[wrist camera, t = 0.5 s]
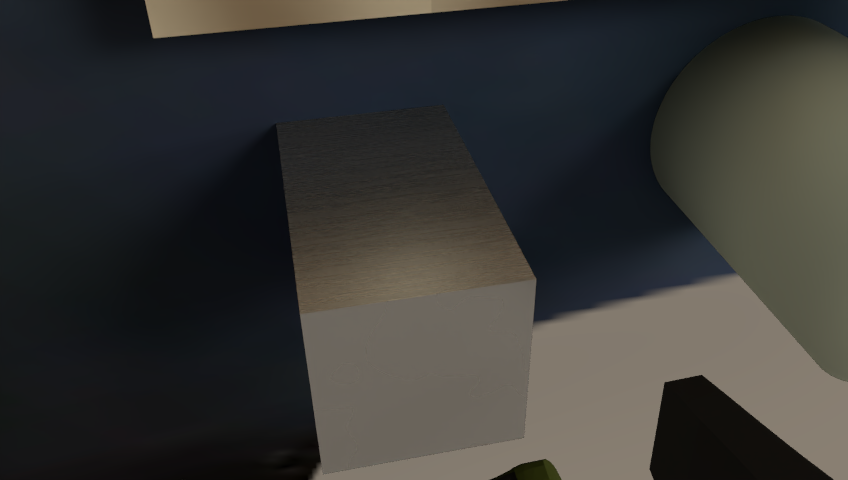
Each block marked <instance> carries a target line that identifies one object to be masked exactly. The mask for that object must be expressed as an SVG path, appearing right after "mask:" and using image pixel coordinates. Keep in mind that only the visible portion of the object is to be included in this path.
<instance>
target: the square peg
mask: <svg viewBox="0 0 848 480" xmlns="http://www.w3.org/2000/svg"><path fill="white" fill-rule="evenodd" d="M276 127H277V135H278V143H279V151H280V159H281V167H282V175H283V183H284V191H285V199H286V207H287V215H288V223H289V231H290V239H291V247H292V255H293V263H294V271H295V279H296V287H297V295H298V303H299V311H300V318H301V325H302V332H303V339H304V346H305V353H306V360H307V367H308V374H309V380H310V387H311V394H312V401H313V408H314V415H315V422H316V429H317V436H318V443H319V450H320V457H321V464H322V471H323V474H327V473H333V472H338V471H343V470H349V469H355V468H360V467H366V466H371V465H377V464H382V463H388V462H394V461H399V460H404V459H410V458H416V457H421V456H427V455H432V454H438V453H443V452H449V451H454V450H459V449H465V448H471V447H476V446H482V445H487V444H493V443H499V442H504V441H510V440H515V439H521V438H524V430H525V418H526V404H527V392H528V379H529V367H530V354H531V340H532V329H533V316H534V304H535V291H536V278H535V276H534V274H533V272H532V270H531V268H530V266H529V264H528V262H527V261H526V259H525V257H524V255H523V253H522V251H521V249H520V247H519V246H518V244H517V242H516V240H515V238H514V236H513V234H512V232H511V231H510V229H509V227H508V225H507V223H506V221H505V219H504V217H503V216H502V214H501V212H500V210H499V208H498V206H497V204H496V202H495V201H494V199H493V197H492V195H491V193H490V191H489V189H488V187H487V185H486V184H485V182H484V180H483V178H482V176H481V174H480V172H479V170H478V169H477V167H476V165H475V163H474V161H473V159H472V157H471V155H470V154H469V152H468V150H467V148H466V146H465V144H464V142H463V140H462V139H461V137H460V135H459V133H458V131H457V129H456V127H455V125H454V124H453V122H452V120H451V118H450V116H449V114H448V112H447V110H446V108H445V107H444V105H436V106H427V107H418V108H409V109H400V110H391V111H382V112H373V113H364V114H355V115H346V116H337V117H327V118H318V119H309V120H300V121H291V122H282V123H276Z"/></svg>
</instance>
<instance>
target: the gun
mask: <svg viewBox="0 0 848 480" xmlns="http://www.w3.org/2000/svg"><path fill="white" fill-rule="evenodd" d="M490 480H561V478H560V476H559V474H558V472H557V470H556V468H555V467H554V465H552V463H551V462H549V461H548V460H546V459H544V460H538V461H533V462H528V463H524V464H520V465H518V466H516V467H514V468H512V469H511V470H509V471H507V472H505V473H503V474H501V475H499V476H497V477H495V478H493V479H490Z"/></svg>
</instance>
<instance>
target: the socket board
mask: <svg viewBox="0 0 848 480" xmlns="http://www.w3.org/2000/svg"><path fill="white" fill-rule="evenodd" d="M555 1H566V0H145V3H146V8H147V12H148V17H149V21H150V25H151V30H152V34H153V38H162V37H173V36H184V35H195V34H206V33H217V32H228V31H239V30H249V29H260V28H271V27H282V26H293V25H304V24H315V23H326V22H337V21H348V20H359V19H369V18H380V17H391V16H402V15H413V14H424V13H435V12H446V11H457V10H468V9H479V8H490V7H500V6H511V5H522V4H533V3H544V2H555Z"/></svg>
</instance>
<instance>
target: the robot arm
mask: <svg viewBox="0 0 848 480" xmlns="http://www.w3.org/2000/svg"><path fill="white" fill-rule="evenodd" d="M650 471H651V474H652V476H653V479H654V480H833V479H832V478H831V477H829V476H828V475H827V474H826V473H824V472H823V471H822V470H820V469H819V468H818V467H816V466H815V465H814V464H812V463H811V462H810V461H808V460H807V459H806V458H804V457H803V456H802V455H801V454H799V453H798V452H797V451H796V450H794V449H793V448H792V447H790V446H789V445H788V444H786V443H785V442H784V441H783V440H782V439H780V438H779V437H778V436H777V435H775V434H774V433H773V432H771V431H770V430H769V429H768V428H767V427H765V426H764V425H763V424H762V423H760V422H759V421H758V420H757V419H755V418H754V417H753V416H752V415H750V414H749V413H748V412H747V411H746V410H744V409H743V408H742V407H741V406H740V405H738V404H737V403H736V402H735V401H733V400H732V399H731V398H730V397H729V396H727V395H726V394H725V393H724V392H722V391H721V390H720V389H718V388H717V387H716V386H715V385H714V384H712V383H711V382H710V381H709V380H707V379H706V378H705V377H704V376H702V375H699V376H694V377H690V378H684V379H679V380H675V381H670V382H665V384H664V389H663V395H662V401H661V406H660V412H659V418H658V424H657V429H656V435H655V441H654V447H653V452H652V458H651V464H650ZM181 480H185V479H181Z"/></svg>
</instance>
